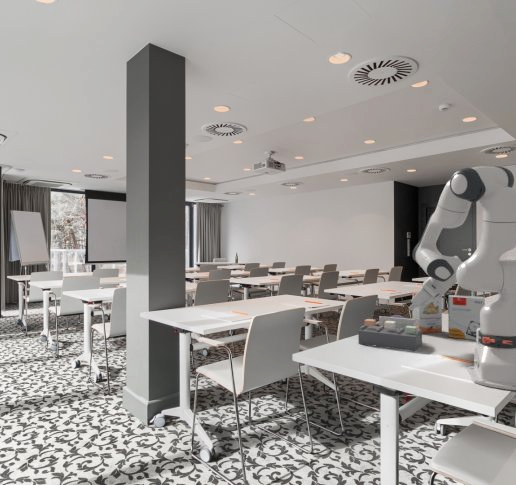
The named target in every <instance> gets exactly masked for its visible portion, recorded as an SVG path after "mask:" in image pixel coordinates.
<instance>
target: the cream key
mask: <svg viewBox="0 0 516 485" xmlns="http://www.w3.org/2000/svg"><path fill="white" fill-rule="evenodd" d="M395 327H396V322H395V321H385V322H384V328H390V329H394V328H395Z"/></svg>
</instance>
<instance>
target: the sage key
mask: <svg viewBox="0 0 516 485" xmlns="http://www.w3.org/2000/svg"><path fill="white" fill-rule="evenodd" d="M416 332H417V326H406V327H405V333H409V334H415V333H416Z"/></svg>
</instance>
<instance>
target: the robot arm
mask: <svg viewBox="0 0 516 485" xmlns="http://www.w3.org/2000/svg"><path fill="white" fill-rule="evenodd" d="M514 184H515V177H514V174H513V172H512V171H511V170H510V169H509V168H506V167H503V166H485V165H480V166H475V167H474V166H473V167H465V168H462V169H459V170H457V171H455V172H454V173H453V175H452V176H451V178H450V179H449V180H448V181H447V182H446V184H445V186H444V187H443V190H442V192H441V194H440V196H439V198H438V199H439V200H438V201H437V205H436V208H435V211H434V212H433V213H432V214H431V215H430V216H429V218H428V220H427V223H426V226H425V228H424V230H423V233H422V235H421V238H420V240H419V241H418V242H417V244H416V245H415V247H414V248H413V250H412V253H411V254H412V259H413V260H414V261H415V262H416V264H418V265H419V267H420V268H422V270H423V271H424V273H425V274H426V275H427V276H429V277H427V279H425V280H424V281H423V283H422V286H421V288H420V289H419V290H418V291H419V292H418V291H417V292H418V293H417V294H416V295H415V296H414V297H413V296H412V299H410V302H411V304H410V305H409V306H408V310H409V311H413V309H414V308H415V307H418V306H420V305H422V304H424V303H425V302H427V301H428V300H429V299H430V298H435V297H437V298H440V297H441V296H442V297H443V296H444V294H445V293H447V292H448V290H449V289H450V288H451V287H452V286H453V285H456V284H458V286H460V288H461V289H463V290H466V291H471V292H477V293H498V295H497V297H496V299H494V300H493V301H492V302H489V303H487V304H486V303H485V306H483V307H482V309H481V311H480V331H479V335H478V337H479V342H480V343H479V344H478V345H477V344H476V345H475V346H474V352H473V353H474V359H473V360H472V363H473V366H472V365H471V366H468V367H467V371H468V373H469V375H470V377H471V380H472V382H474V383H475V384H477V385H481V386H485V387H490V388H495V389H501V390H508V391H509V390H510V391H516V260H511V259H507V260H506V259H505V260H504V259H503V260H501V257H502V256H503V255H504V254H505V253H507V252H509V251H511V250H513V249H515V248H516V189H515V188H513V186H514ZM477 202H479V203H480V204H481V206H482V218H481V220H482V221H481V232H480V238H479V242H478V246H477V248H476V249H475V251H474V252H473V253H472V255H471V256H469V258H468V259H466V260H465V261H463V259H462V257H460V256H458V255H454V256H448V255H444V254H442V253H441V252H440V250H439V249H438V247H437V241H438V240H439V237H440V235H441V233H442V230H443V229H456V228H458V227H461V226H462V225H463V224H464V223H465V221H466V220H467V217H468V215H469V212H470V209H471V207H472V204H474V203H477ZM449 291H450V290H449Z"/></svg>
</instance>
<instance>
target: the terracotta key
mask: <svg viewBox="0 0 516 485" xmlns="http://www.w3.org/2000/svg"><path fill="white" fill-rule="evenodd" d="M363 323H364V325H363V326H371V327H373V326H377V319H373V318H367V319H364V322H363Z"/></svg>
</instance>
